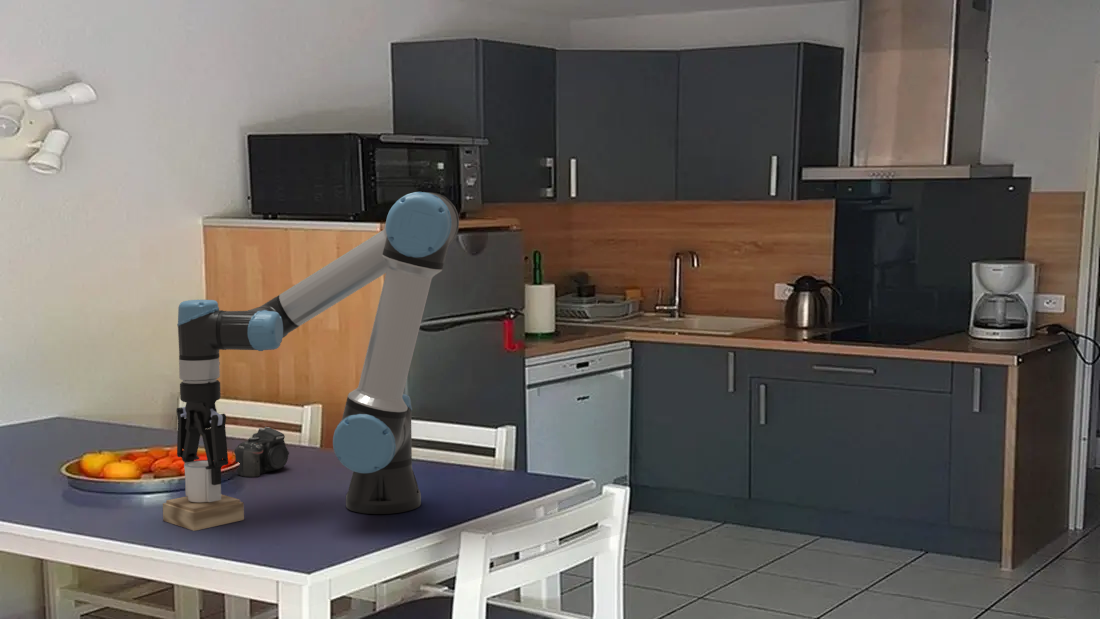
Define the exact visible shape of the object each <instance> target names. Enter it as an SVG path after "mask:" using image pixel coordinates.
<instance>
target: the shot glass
mask: <svg viewBox="0 0 1100 619" xmlns="http://www.w3.org/2000/svg"><path fill="white" fill-rule="evenodd" d="M213 462H214V460H213ZM207 466H209V465H208V461H207V459H206V460H200V459H199V460H194V461H193V462H188V463H186V464H183V467H184V478H185V477H186V485H187V494H188V500H189V501H191V502H207V488H206V468H205V467H207Z"/></svg>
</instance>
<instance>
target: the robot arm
mask: <svg viewBox="0 0 1100 619" xmlns="http://www.w3.org/2000/svg"><path fill="white" fill-rule="evenodd" d="M459 226H460V218H459V213H458V210H457V209H456V206H455V205H454V204H453V203H452V201H450V199H448V198H447V197H446V196H445V195H441V194H439V193H437V192H432V191H431V192H429V191H427V192H425V191H423V192H422V191H414V192H411V193H407V194H405V195H403V196H401V197H400V198H398V200H396V201H395V203H394V204H393V205H392V206H391V208H390V209H389V211H388V214H387V216H386V221H385V224H384V227H383V230H381V231H379V232H378V233H376V234H374V235H373V236H371V237H370V238H368V239H367V240H364V241H363V242H362V243H360V244H358V245H357V246H356V247H355V246H354V248H352V249H350V250H349V251H348V252H346V253H344V254H343V255H341V256H339V257H338V258H336V259H334V260H333V261H331V262H329V263H328V264H327V265H325V266H323V267H322V268H320V269H319V270H317V271H316V272H314V273H312V274H310V275H309V276H308V277H305V278H304V279H302V280H301V281H300V282H298V283H295V284H294V285H293V286H291V287H290V288H288V289H286V290H284V291H283V292H282V293H280V294H278V295H276V296H275V297H274V298H271V299H270V300H268V301H267V302H265V303H263V304H262V305H260V306H258V307H255V308H252V309H249V310H223V309H222V310H221V309H220V307H219V302H218V301H217V300H215V299H190V300H183V301H182V302H180V304H179V305H178V308H177V309H178V311H177V312H178V313H177V333H178V337H177V338H178V357H179V358H178V366H179V368H178V370H179V371H178V373H179V375H178V376H179V379H180V380H181V382H180V383H179V397H180V398H179V399H180V401H181V402H183V403H185V405H184V406H183V407H177V408H176V416H177V439H176V441H177V442H176V447H177V448H176V456H177V457H178V458H181V460H182V462H183V463H184V464H186V463H188V462H193V461H198V460H200V457H199V456H198V450H199V446H200V445H199V444H200V440H201V439H200V438H201V437H202V443H203V447H204V451H205V455H206V460H207V461H208V465H209V466H207V467H205V468H206V488H207V502H213V501H218V500H221V494H222V467H224V466H227V465H228V464H229V455H228V443H227V432H226V421H227V415H226V413H218V411H217V407H216V402H217V401H219V400H220V399H221V395H222V394H221V381H219V380H218V379H219V378H220V376H221V374H220V372H221V371H220V370H221V369H220V365H221V362H220V356H221V355H220V350H222V351H224V350H225V351H226V350H228V351H229V350H230V351H231V350H233V351H234V350H235V351H239V350H240V351H258V352H263V351H273V350H277V349H278V348H280V347H281V343H282V341H283V339H284V338H285V337H286V336H287V335H288V334H289V333H292V332H293V331H295V330H296V329H298V328H299V327H300V326H302V325H303V324H305V323H307V322H309V321H311V319H313V318H315V317H316V316H318V315H321V313H323V312H325V311H326V310H328V309H330V308H331V307H333V306H334V305H336V304H337V303H340V302H341V301H343V300H344V299H346V298H347V297H349V296H351V295H352V294H354V293H356V292H357V291H359V290H361V289H363V288H364V287H365V286H367V285H368V284H370V283H372V282H374V281H376V280H377V279H379V278H380V277H382V276H383V275H385V276H384V281H383V284H382V289H381V293H380V296H379V301H378V304H377V310H376V312H375V316H374V321H373V325H372V328H371V332H370V333H371V334H370V337H369V342H368V346H367V350H366V354H365V358H364V361H363V362H364V363H363V366H362V370H361V373H360V374H361V375H360V379H359V382H358V386H357V388H355V389H353V390H352V391H349V393H348V394H347V397H346V402H345V406H344V409H343V413H342V418H341V420H340V421H339V423H338V424H337V426H336V428H335V429H334V433H333V437H332V447H333V452H334V454H335V456H336V458H337V460H338V461H339V462H340V464H341V465H343V466H344V467H345V468H346V469H348V470H350V471H351V472H352V475H351V478H350V482H349V487H348V490H347V493H346V495H345V507H346V509H347V510H349V511H352V512H354V513H358V514H367V515H389V514H390V515H391V514H397V513H398V514H399V513H404V512H405V513H406V512H409V511H412V510H415V509H417V508H419V507H420V506H421V505H422V495H421V494H422V493H421V490H420V489H419V486H418V485H419V484H418V481H417V479H416V476H415V472H414V469H413V464H412V463H413V461H412V458H413V456H412V454H413V451H412V450H413V448H412V447H413V446H412V444H413V443H412V442H413V441H412V440H413V439H412V411H413V407H412V400H411V398H410V396H409V395H408V394H405V393H404V391H405V387H406V383H407V379H408V375H409V372H410V368H411V364H412V359H413V355H414V351H415V347H416V344H417V339H418V336H419V335H418V334H419V331H420V327H421V323H422V318H423V315H424V310H425V308H426V307H425V306H426V305H427V304H426V302H427V299H428V294H429V291H430V287H431V283H432V280H433V278H434V277H435V276H436V275H438V274H440V273H441V272H443V269H444V268H443V267H444V265H445V260H446V256H447V252H448V248H449V245H451V243H452V242H453V241H454V239H455V238H456V236H457V234H458V232H459V228H460V227H459ZM213 461H214V462H213ZM184 464H183V465H184ZM184 480H185V481H184V482H185V483H184V484H185V486H184V487H185V488H184V489H185V497H186V496H188V494H187V485H186V477H185V476H184Z"/></svg>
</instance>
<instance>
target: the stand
mask: <svg viewBox="0 0 1100 619" xmlns="http://www.w3.org/2000/svg"><path fill="white" fill-rule="evenodd" d="M244 507H245V504H244V502H243V501H241V499H239V498H236V497H232V496H229V495H226V494H222V493H221V500H218V501H213V502H191V501H189V500H188V496H186V495H185V496H182V497H175V498H172V499H166V502H163V503H162V521H163V522H166V523H169V524H172V525H176V526H178V527H182V528H184V529H186V530H187V529H188V530H190V531H193V532H194V531H199V530H200V531H201V530H204V529H208V528H213V527H217V526H223V525H227V524H231V523H235V522H239V521H244V520H245V508H244Z"/></svg>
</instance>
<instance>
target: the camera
mask: <svg viewBox="0 0 1100 619" xmlns="http://www.w3.org/2000/svg"><path fill="white" fill-rule="evenodd" d="M285 436H286V435H285V433H283V432H281V431H279V430H277V429H274V428H272V427H269V426H268V427H267V426H264V428H263V427H258V430H257V432H255V433H253V434H252V435H251V437H248V440H246V441H243V442H241V443H239V444H238V445H237V446H236V447H235V448H234V452H233V453H234V455H235V463H236V462H239V463H240V466H239V468H238V469H237V470H236V473H237V475H238V476H240V477H243V478H253V479H254V478H259V477H260V475H262V474H265V473H269V472H273V471H278V470H280V469H283V468H284V467H285V466H286V464H287V462H288V460H289V455H290V452H289V450H288V447H287V446H286V443H285Z"/></svg>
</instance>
